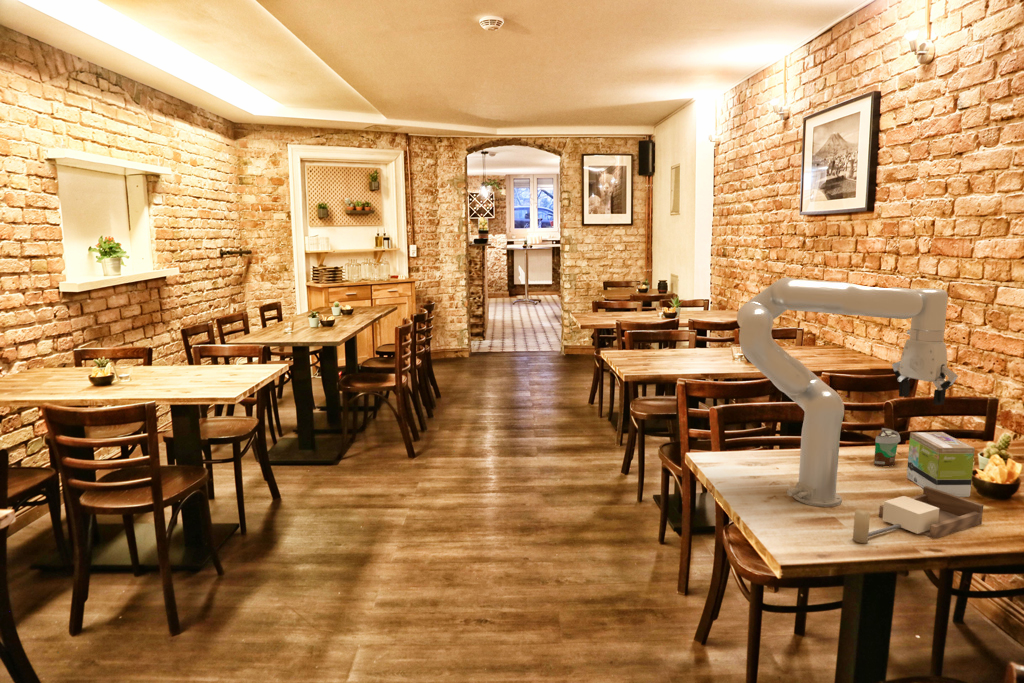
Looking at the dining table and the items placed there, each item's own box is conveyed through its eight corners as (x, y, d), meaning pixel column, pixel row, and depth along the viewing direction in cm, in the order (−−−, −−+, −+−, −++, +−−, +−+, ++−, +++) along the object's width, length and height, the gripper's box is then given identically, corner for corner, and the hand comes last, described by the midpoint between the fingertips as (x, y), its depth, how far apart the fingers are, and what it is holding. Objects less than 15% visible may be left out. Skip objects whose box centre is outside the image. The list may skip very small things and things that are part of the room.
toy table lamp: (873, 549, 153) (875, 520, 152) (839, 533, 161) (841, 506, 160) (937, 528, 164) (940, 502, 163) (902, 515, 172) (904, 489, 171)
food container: (895, 470, 206) (898, 439, 205) (873, 466, 210) (875, 436, 208) (901, 460, 216) (903, 430, 214) (879, 456, 219) (882, 427, 218)
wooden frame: (934, 538, 159) (936, 519, 158) (878, 516, 172) (880, 498, 171) (981, 523, 168) (983, 504, 167) (924, 503, 180) (926, 486, 180)
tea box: (904, 478, 200) (908, 430, 197) (938, 478, 199) (943, 431, 197) (934, 497, 185) (939, 446, 182) (971, 497, 184) (976, 446, 182)
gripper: (886, 332, 179) (881, 394, 182) (949, 341, 163) (942, 409, 166) (906, 331, 182) (900, 392, 184) (969, 339, 166) (963, 406, 169)
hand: (920, 400), depth 175 cm, fingers open, 9 cm apart
